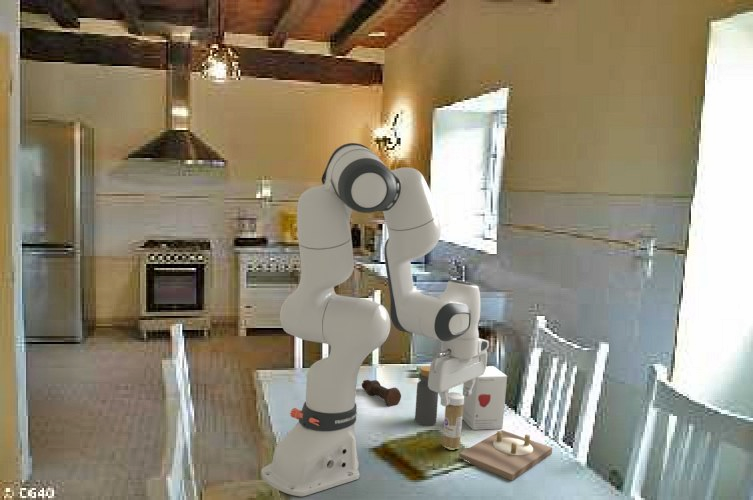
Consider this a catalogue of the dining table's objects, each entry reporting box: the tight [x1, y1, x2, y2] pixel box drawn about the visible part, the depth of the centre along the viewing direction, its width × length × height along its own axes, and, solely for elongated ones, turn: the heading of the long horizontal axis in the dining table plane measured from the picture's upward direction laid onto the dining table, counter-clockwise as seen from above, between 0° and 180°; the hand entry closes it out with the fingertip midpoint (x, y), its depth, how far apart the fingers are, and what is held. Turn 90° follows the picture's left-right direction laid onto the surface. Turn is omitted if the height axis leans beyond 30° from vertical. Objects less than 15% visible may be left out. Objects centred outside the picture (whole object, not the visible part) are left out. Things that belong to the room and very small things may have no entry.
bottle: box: [414, 365, 439, 427], centre depth 160 cm, size 6×6×15 cm
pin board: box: [458, 429, 553, 481], centre depth 142 cm, size 20×14×4 cm
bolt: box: [361, 379, 402, 407], centre depth 177 cm, size 6×5×15 cm
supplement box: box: [462, 365, 508, 431], centre depth 161 cm, size 9×9×15 cm
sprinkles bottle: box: [442, 391, 464, 448], centre depth 145 cm, size 5×5×14 cm
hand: (456, 399), depth 144 cm, fingers open, 8 cm apart
